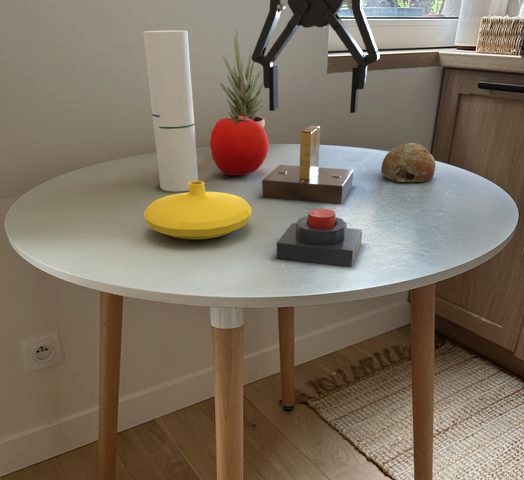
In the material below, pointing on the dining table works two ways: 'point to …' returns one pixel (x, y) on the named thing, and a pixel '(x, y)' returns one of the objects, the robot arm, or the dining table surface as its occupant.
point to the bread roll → (408, 164)
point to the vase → (198, 213)
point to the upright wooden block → (309, 152)
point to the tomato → (238, 145)
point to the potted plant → (243, 87)
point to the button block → (320, 243)
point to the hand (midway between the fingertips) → (313, 110)
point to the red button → (321, 218)
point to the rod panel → (308, 184)
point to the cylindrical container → (172, 107)
